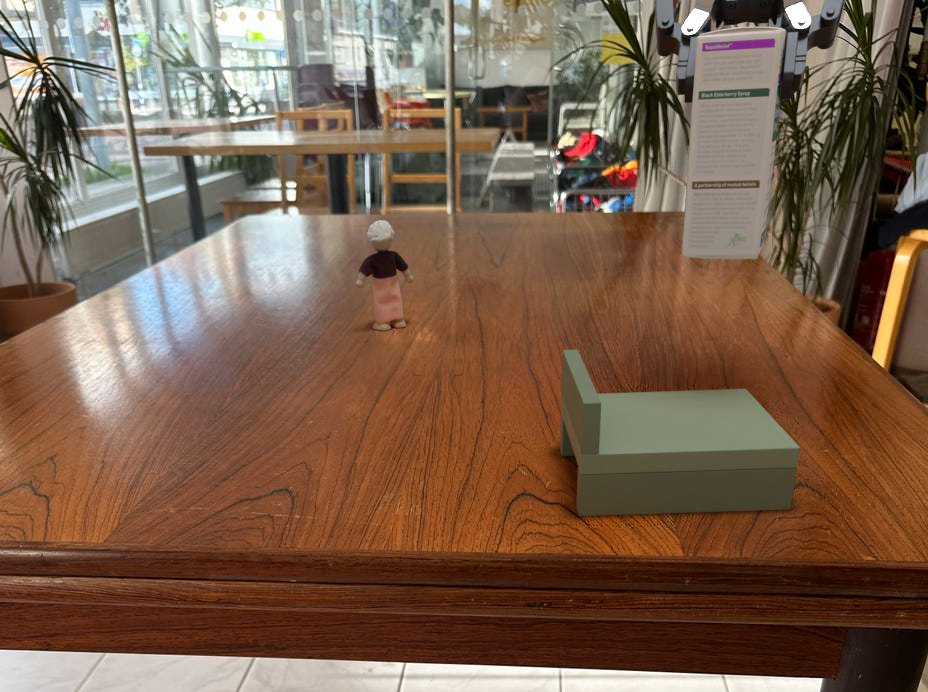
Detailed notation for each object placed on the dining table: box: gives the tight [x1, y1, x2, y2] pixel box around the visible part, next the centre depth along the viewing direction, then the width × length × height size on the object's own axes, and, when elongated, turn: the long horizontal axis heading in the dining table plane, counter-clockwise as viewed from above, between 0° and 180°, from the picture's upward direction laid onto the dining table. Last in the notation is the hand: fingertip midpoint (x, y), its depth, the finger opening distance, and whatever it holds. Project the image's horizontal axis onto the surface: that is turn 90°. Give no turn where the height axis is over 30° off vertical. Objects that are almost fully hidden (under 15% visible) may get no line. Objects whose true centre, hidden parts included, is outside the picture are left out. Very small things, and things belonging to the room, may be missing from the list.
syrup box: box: [681, 26, 788, 260], centre depth 68 cm, size 6×6×14 cm
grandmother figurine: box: [355, 219, 415, 331], centre depth 117 cm, size 8×4×13 cm, turn 130°
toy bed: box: [559, 349, 801, 517], centre depth 71 cm, size 15×14×9 cm
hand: (737, 91), depth 65 cm, fingers closed on syrup box, 6 cm apart
